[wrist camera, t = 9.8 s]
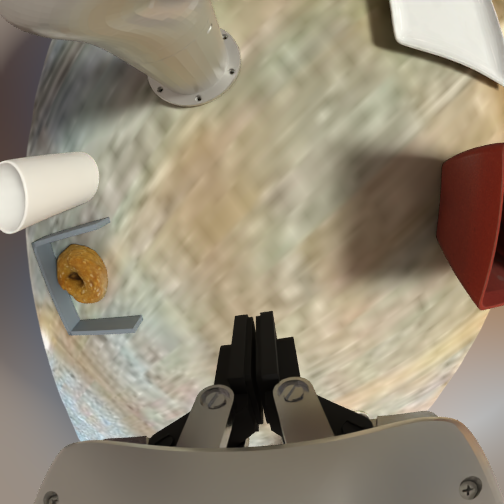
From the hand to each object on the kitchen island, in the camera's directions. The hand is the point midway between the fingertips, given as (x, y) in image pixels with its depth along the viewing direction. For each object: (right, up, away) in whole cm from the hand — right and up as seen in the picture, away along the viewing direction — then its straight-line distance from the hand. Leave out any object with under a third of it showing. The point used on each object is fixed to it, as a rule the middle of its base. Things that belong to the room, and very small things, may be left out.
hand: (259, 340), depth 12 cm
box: (-27, 0, +29) cm, 40 cm away
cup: (-27, +15, +24) cm, 39 cm away
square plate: (+32, +46, +12) cm, 58 cm away
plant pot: (+35, +12, +24) cm, 44 cm away
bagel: (-28, +1, +29) cm, 41 cm away
